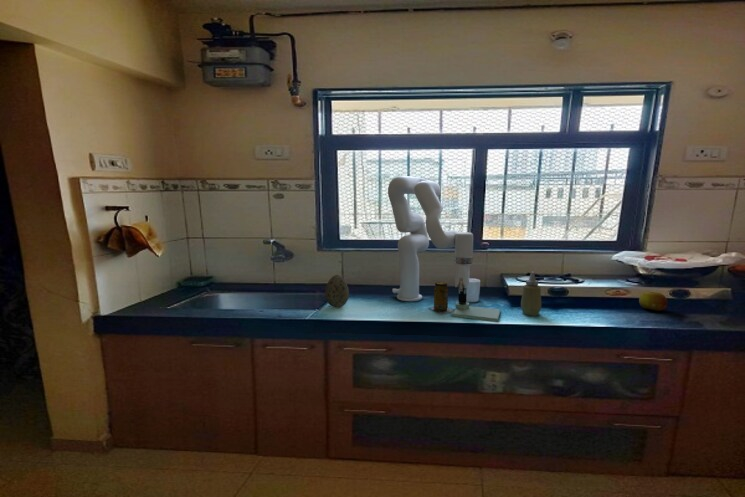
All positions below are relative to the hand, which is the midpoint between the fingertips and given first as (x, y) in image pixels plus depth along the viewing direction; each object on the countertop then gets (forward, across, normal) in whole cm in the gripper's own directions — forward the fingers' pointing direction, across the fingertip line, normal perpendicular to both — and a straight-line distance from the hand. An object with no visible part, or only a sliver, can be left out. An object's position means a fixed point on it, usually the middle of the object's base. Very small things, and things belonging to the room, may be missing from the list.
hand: (462, 301), depth 154 cm
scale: (+4, +4, +7) cm, 8 cm away
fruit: (+3, -29, +76) cm, 81 cm away
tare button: (+2, 0, 0) cm, 2 cm away
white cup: (+4, -17, +2) cm, 18 cm away
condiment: (+4, +3, -8) cm, 10 cm away
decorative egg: (+4, +16, -54) cm, 56 cm away
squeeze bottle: (+4, -5, +28) cm, 28 cm away
